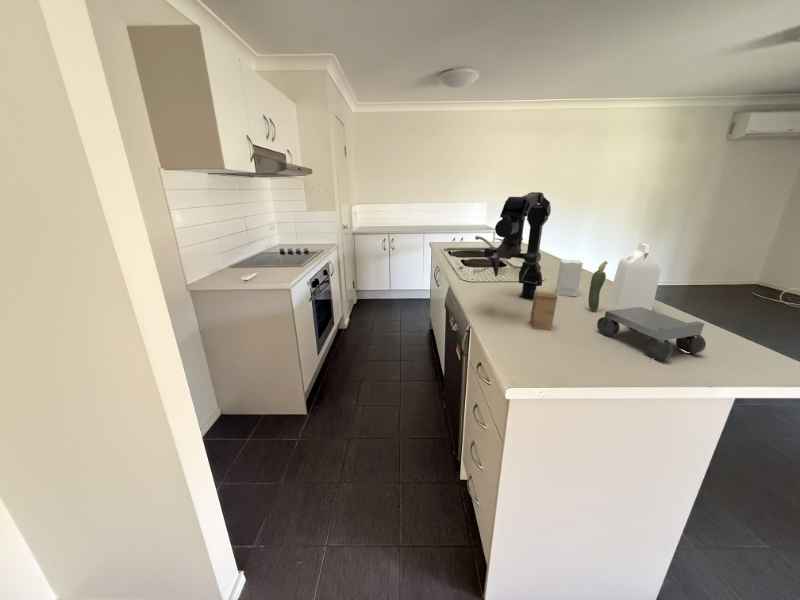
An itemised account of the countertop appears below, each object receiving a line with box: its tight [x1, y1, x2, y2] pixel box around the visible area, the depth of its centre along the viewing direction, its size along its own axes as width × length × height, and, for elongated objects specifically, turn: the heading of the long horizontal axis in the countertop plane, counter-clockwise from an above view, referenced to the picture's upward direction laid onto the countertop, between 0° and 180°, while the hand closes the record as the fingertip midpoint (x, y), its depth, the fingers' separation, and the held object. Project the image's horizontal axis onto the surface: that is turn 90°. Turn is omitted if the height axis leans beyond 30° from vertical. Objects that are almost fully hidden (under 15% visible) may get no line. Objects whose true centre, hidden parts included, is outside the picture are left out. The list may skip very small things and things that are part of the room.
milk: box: [607, 242, 662, 311], centre depth 121 cm, size 12×12×26 cm
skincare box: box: [555, 259, 584, 297], centre depth 141 cm, size 8×7×16 cm
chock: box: [529, 289, 558, 332], centre depth 108 cm, size 6×6×12 cm
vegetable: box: [587, 260, 608, 313], centre depth 121 cm, size 4×4×20 cm
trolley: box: [596, 307, 707, 361], centre depth 96 cm, size 22×15×10 cm
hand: (508, 278), depth 114 cm, fingers open, 9 cm apart
